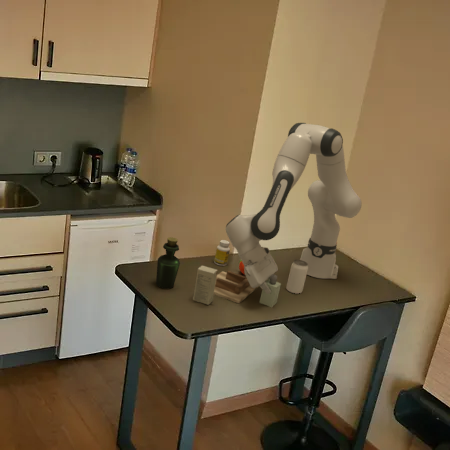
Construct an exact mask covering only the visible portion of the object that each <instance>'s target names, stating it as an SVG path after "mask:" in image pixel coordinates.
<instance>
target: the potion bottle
mask: <svg viewBox="0 0 450 450" xmlns="http://www.w3.org/2000/svg"><path fill="white" fill-rule="evenodd" d="M178 241H179V239H177V238H176V237H172V236H171V237H167V242H165V243H164V244H163V246H162V248H163V249H164V250H165V254H162V255H161V254H160V256H159V257H158V258H157V264H156V265H157V266H156V278H155V284H156V286H157V287H159V288H161V289H164V290H165V289H167V290H169V289H172V288H173V287H174V286H175V282H176V279H177V276H178V272H179V268H180V264H181V261H180V259H179V258H178V257H177V256H175V254H176V252H179V251H180V246H179V244H178Z"/></svg>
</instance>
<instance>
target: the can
mask: <svg viewBox="0 0 450 450" xmlns="http://www.w3.org/2000/svg"><path fill="white" fill-rule="evenodd" d="M307 265H308V263H307V262H305V261H302V260H300V259H294V260H293V262H292V263H291V266H290V270H289V275H288V277H287V278H288V279H287V283H286V287H285V288H286V290H287V291H288V292H289V293H291V294H294V293H295V295H300V294H302V293H303V290H304V287H305V282H306V278H307V271H308V266H307ZM299 293H300V294H299Z"/></svg>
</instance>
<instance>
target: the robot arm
mask: <svg viewBox="0 0 450 450" xmlns="http://www.w3.org/2000/svg"><path fill="white" fill-rule="evenodd" d="M343 143H344V139H343V136H342V134H341V132H340V131H338V130H337V129H334V128H330V127H327V126H324V125H320V124H313V123H306V122H296V123H294V124H293V125H292V126H291V127H290V129H289V130H288V134H287V138H286V139H285V141H284V143H283V144H282V146H281V147H280V150H279V151H278V154H277V156H276V157H275V158H276V159H275V162H274V163H273V168H272V184H271V185H272V186H271V189H270V191H269V193H268V195H267V197H266V201H265V203H264V206H263V207H262V208H261V209H260V211H258V212H257V213H256V214H248V215H247V214H237V215H235V217H233V218H232V219H231V220H229V221H228V223H227V224H226V226H225V233H226V235H227V238H228V240H229V242H230V243H231V245H232V247H234V249H236V253H237V254H238V257H239V259H240V261H241V260H242V262H243V264H244V273H245V274H244V276H245V277H246V278H247V280H248V282H249V284H250V286H251V287H252V288H256V287H258V286H259V287H260V288H261V290H262V289H263V290H265V292H266V294H269V293H271V291H272V290H271V288H270V287H268V286H267V285H266V281H267V280H268V279H270V277H271V275H272V274H274V275H275V273H277V272H278V271H279V269H278V265H277V263H276V261H275V259H274V257H273V256H272V254H271V251H270V249H269V248H268V247H265V246H261V243H260V241H269V240H273V238H276V236H277V235H278V233H279V232H280V228H281V227H280V226H281V220H280V218H281V214H282V211H283V207H284V206H285V203H286V200H287V198H288V196H289V194H290V192H291V190H292V189H293V188H294V186H295V185H296V184H297V183H298V181H299V180H300V178H301V177H302V175H303V173H304V171H305V169H306V166H307V163H308V161H309V158H310V155H315V159H316V168H317V176H318V178H319V180H318V179H317V180H314V181H313V182H312V183H311V184H310V185H309V186H308V187H309V188H308V190H307V196H308V200H309V201H310V203H311V206H312V210H313V225H312V231H311V235H310V237H309V239H308V242H307V247H304V248H303V250H302V252H301V255H300V258H299V260H302V261H305V262H307V263H308V265H307V266H308V271H307V275H308V276H311V277H312V278H317V279H331V280H336V279H337V278H338V271H339V265H337V264H336V262H337V261H336V258H337V254H336V252H337V247H338V246H337V244H338V238H339V234H340V230H341V227H340V224H339V222H338V220H337V219H336V215H337V216H339V217H343V218H346V219H347V218H349V219H352V218H355V216H357V215H358V214H359V213H360V212H361V210H362V209H361V208H362V199H361V197H360V196H359V195H358V194H357V193H356V191H355V190H354V189H353V186H352V185H351V182H350V180H349V178H348V174H347V171H346V169H347V168H346V161H345V159H346V158H345V152H344V145H343ZM335 214H336V215H335ZM307 275H306V276H307ZM259 287H258V288H259Z"/></svg>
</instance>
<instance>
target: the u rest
mask: <svg viewBox="0 0 450 450" xmlns="http://www.w3.org/2000/svg"><path fill="white" fill-rule="evenodd" d="M259 287H260V286H258V287H256V288H252V287H251V286H250V284H249V282H248V280H247V278H246V275H242V274H239V273H235V272H233V271H230V270H228V271H227V272H225V271H221V272H219V273H217V277H216V283H215V288H214V294H213V295H216V296H218V297H220V298H223V299H226V300H229V301H232V302H234V303H237V304H241V302H242V301H244V300H245V299H246V298H247V297H248V296H250V295H251V294H252V293H253V292H255V291H256V290H257V289H258V288H259Z"/></svg>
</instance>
